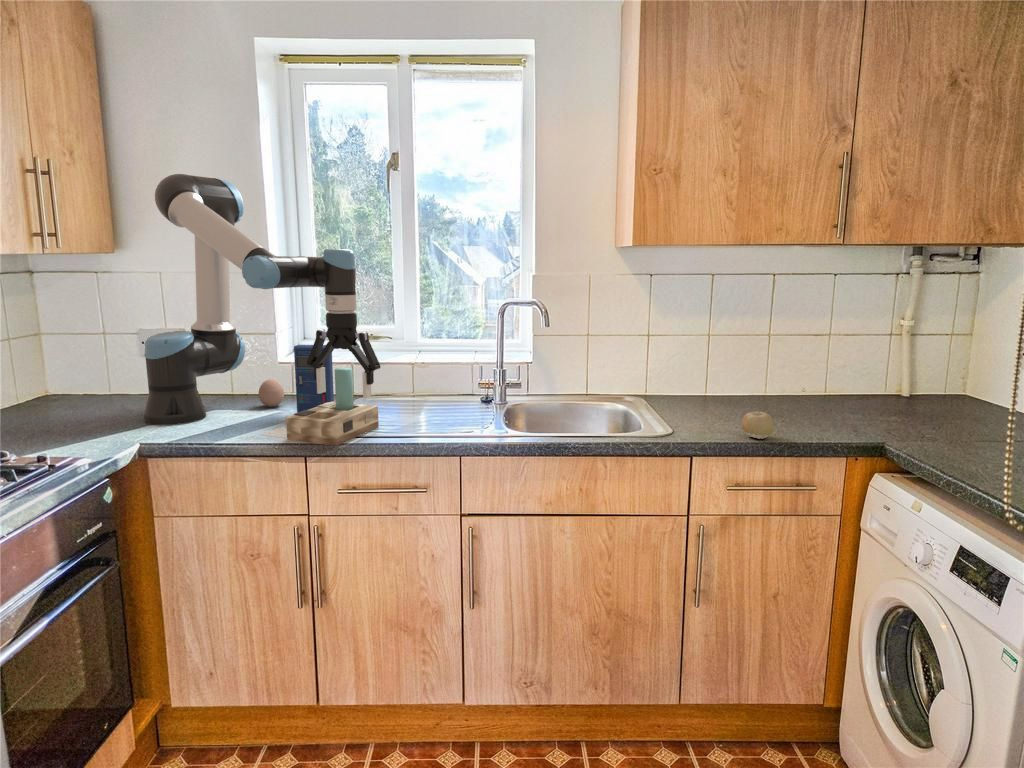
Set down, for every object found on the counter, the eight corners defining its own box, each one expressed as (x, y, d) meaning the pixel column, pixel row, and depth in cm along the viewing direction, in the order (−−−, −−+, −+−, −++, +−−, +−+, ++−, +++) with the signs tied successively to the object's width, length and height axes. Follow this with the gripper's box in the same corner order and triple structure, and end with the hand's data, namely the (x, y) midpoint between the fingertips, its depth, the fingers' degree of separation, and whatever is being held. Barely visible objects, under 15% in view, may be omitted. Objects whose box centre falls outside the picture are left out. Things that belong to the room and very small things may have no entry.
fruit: (772, 436, 167) (775, 406, 166) (771, 443, 161) (774, 412, 159) (742, 432, 170) (744, 403, 169) (739, 439, 164) (742, 409, 162)
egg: (254, 406, 192) (252, 379, 190) (276, 402, 197) (275, 376, 195) (267, 410, 187) (265, 382, 185) (289, 406, 192) (288, 379, 191)
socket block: (287, 441, 156) (285, 415, 155) (332, 423, 174) (332, 400, 173) (337, 447, 152) (336, 421, 150) (379, 428, 169) (378, 404, 168)
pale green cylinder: (333, 423, 165) (331, 369, 163) (342, 419, 170) (341, 367, 167) (347, 425, 164) (346, 371, 161) (357, 421, 168) (355, 368, 166)
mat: (259, 436, 160) (259, 434, 160) (280, 428, 167) (280, 427, 167) (286, 439, 157) (286, 438, 157) (306, 431, 165) (306, 430, 165)
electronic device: (296, 418, 179) (292, 346, 175) (301, 413, 184) (298, 344, 180) (330, 418, 179) (327, 347, 175) (335, 414, 184) (332, 344, 180)
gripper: (290, 310, 162) (294, 393, 166) (377, 315, 154) (379, 401, 158) (308, 308, 169) (312, 388, 173) (392, 312, 161) (394, 395, 165)
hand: (344, 394), depth 165 cm, fingers open, 13 cm apart
